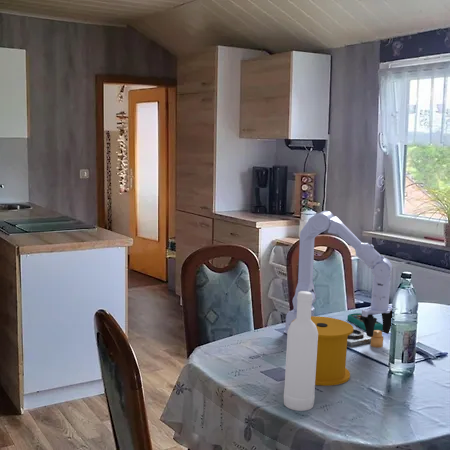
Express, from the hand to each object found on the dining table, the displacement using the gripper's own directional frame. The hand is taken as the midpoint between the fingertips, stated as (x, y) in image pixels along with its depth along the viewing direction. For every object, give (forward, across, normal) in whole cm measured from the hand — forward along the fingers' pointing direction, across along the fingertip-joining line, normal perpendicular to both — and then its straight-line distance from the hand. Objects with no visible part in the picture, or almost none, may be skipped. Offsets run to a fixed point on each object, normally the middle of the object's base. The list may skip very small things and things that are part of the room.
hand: (377, 334), depth 210 cm
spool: (+4, -34, -10) cm, 36 cm away
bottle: (+4, -53, -24) cm, 58 cm away
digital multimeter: (+4, +13, +19) cm, 24 cm away
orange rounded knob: (+4, 0, 0) cm, 4 cm away
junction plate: (+4, -3, +9) cm, 10 cm away
